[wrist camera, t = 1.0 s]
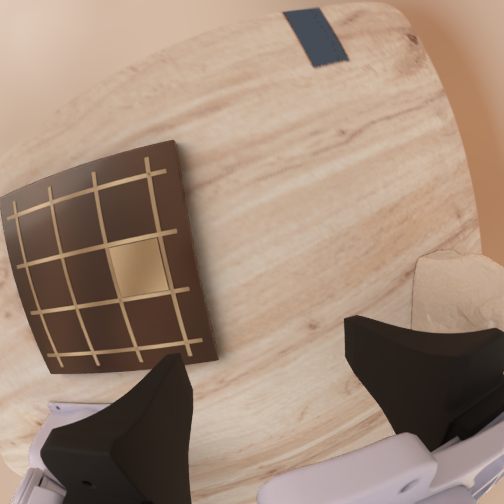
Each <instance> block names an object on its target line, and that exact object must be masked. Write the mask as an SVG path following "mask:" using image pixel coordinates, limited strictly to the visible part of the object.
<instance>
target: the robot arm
mask: <svg viewBox="0 0 504 504" xmlns="http://www.w3.org/2000/svg"><path fill="white" fill-rule="evenodd" d="M344 329H345V357H346V359H347V361H348V363H349V365H350V367H351V368H352V370H353V372H354V373H355V375H356V376H357V377H358V379H359V380H360V381H361V383H362V384H363V385H364V386H365V388H366V389H367V390H368V392H369V393H370V394H371V395H372V397H373V398H374V399H375V400H376V402H377V403H378V404H379V406H380V407H381V409H382V410H383V412H384V414H385V415H386V417H387V419H388V420H389V422H390V424H391V426H392V428H393V430H394V432H395V433H396V435H394V436H390V437H387V438H385V439H382V440H380V441H378V442H375V443H373V444H370V445H368V446H365V447H363V448H360V449H357V450H354V451H352V452H349V453H346V454H343V455H340V456H337V457H334V458H331V459H328V460H324V461H321V462H318V463H314V464H310V465H307V466H303V467H299V468H295V469H292V470H290V471H287V472H284V473H281V474H278V475H276V476H274V477H273V478H271V479H270V480H269V481H267V482H266V483H264V484H263V485H262V486H261V487H259V489H258V493H257V497H256V499H257V504H478V502H477V500H478V499H480V498H481V497H482V496H483V495H484V494H485V493H486V492H488V491H489V490H490V489H491V488H492V487H493V486H494V485H495V484H496V483H497V482H499V481H500V480H501V478H503V477H504V374H503V372H504V332H503V331H502V330H500V329H498V328H490V329H485V330H480V331H474V332H465V333H431V332H423V331H416V330H411V329H406V328H401V327H397V326H394V325H390V324H386V323H383V322H380V321H376V320H373V319H370V318H366V317H362V316H358V315H356V316H352V317H348V318H345V319H344ZM48 407H49V409H50V411H51V412H50V414H49V415H48V417H47V419H46V420H45V422H44V423H43V425H42V427H41V428H40V430H39V431H38V433H37V435H36V436H35V438H34V440H33V441H32V443H31V445H30V448H29V465H30V468H29V469H28V470H27V471H26V473H25V475H24V476H23V478H22V480H21V482H20V483H19V485H18V487H17V489H16V491H15V493H14V496H13V497H12V500H11V502H10V504H191V495H190V483H189V464H188V450H189V440H190V431H191V423H192V415H193V389H192V386H191V383H190V380H189V377H188V374H187V371H186V369H185V366H184V362H183V359H182V356H181V353H174V354H167V355H166V356H165V357H164V358H163V359H162V360H161V361H160V362H159V363H158V364H157V365H156V366H155V367H154V368H153V369H152V370H151V371H150V372H149V373H148V374H147V375H146V376H145V377H144V378H143V379H142V380H141V381H140V382H139V383H138V384H137V385H136V386H135V387H133V388H132V389H131V390H130V391H129V392H128V393H126V394H125V395H124V396H122V397H121V398H120V399H118V400H117V401H115V402H114V403H112V404H76V403H57V402H49V404H48Z"/></svg>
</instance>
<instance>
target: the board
mask: <svg viewBox="0 0 504 504" xmlns="http://www.w3.org/2000/svg"><path fill="white" fill-rule="evenodd" d="M0 210H1V217H2V223H3V229H4V235H5V240H6V245H7V250H8V254H9V259H10V263H11V267H12V271H13V275H14V278H15V282H16V285H17V289H18V292H19V295H20V299H21V302H22V305H23V308H24V311H25V314H26V316H27V319H28V322H29V325H30V327H31V330H32V332H33V335H34V337H35V340H36V342H37V345H38V347H39V349H40V352H41V354H42V356H43V358H44V361H45V363H46V365H47V367H48V369H49V371H50V373H51V374H85V373H107V372H123V371H135V370H146V369H153V368H154V367H155V366H156V365H157V364H158V363H159V362H160V361H161V360H162V359H163V358H164V357H165V356H166V355H167V354H174V353H181V356H182V359H183V362H184V365H189V364H196V363H203V362H209V361H216V360H219V353H218V349H217V346H216V342H215V338H214V334H213V329H212V325H211V321H210V317H209V313H208V309H207V304H206V300H205V296H204V291H203V287H202V282H201V277H200V273H199V268H198V263H197V259H196V254H195V249H194V244H193V239H192V234H191V228H190V223H189V218H188V212H187V207H186V201H185V195H184V190H183V184H182V178H181V171H180V165H179V159H178V152H177V145H176V142H175V141H174V140H170V141H166V142H161V143H157V144H153V145H149V146H145V147H141V148H137V149H133V150H129V151H126V152H122V153H118V154H115V155H111V156H108V157H105V158H101V159H98V160H95V161H92V162H89V163H86V164H83V165H80V166H77V167H74V168H71V169H68V170H65V171H63V172H60V173H57V174H54V175H52V176H49V177H47V178H44V179H42V180H39V181H37V182H34V183H32V184H29V185H27V186H25V187H22V188H20V189H18V190H15V191H13V192H11V193H9V194H7V195H4V196H2V197H0Z"/></svg>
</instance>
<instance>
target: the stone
mask: <svg viewBox="0 0 504 504" xmlns="http://www.w3.org/2000/svg"><path fill="white" fill-rule="evenodd" d="M411 328H412V330H416V331H423V332H431V333H465V332H474V331H480V330H485V329H490V328H498V329H500V330H502V331H503V332H504V267H503V266H501V265H498V264H497V263H495V262H494V261H493V260H491V259H490V258H488V257H485V256H483V255H480V254H478V255H474V254H467V253H465V254H460V253H459V252H457V251H456V250H444V251H441V250H437V251H435V252H433V253H430V254H428V255H424V256H421V257H420V258H419V259H418V260H417V264H416V269H415V276H414V287H413V302H412V321H411Z"/></svg>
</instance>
